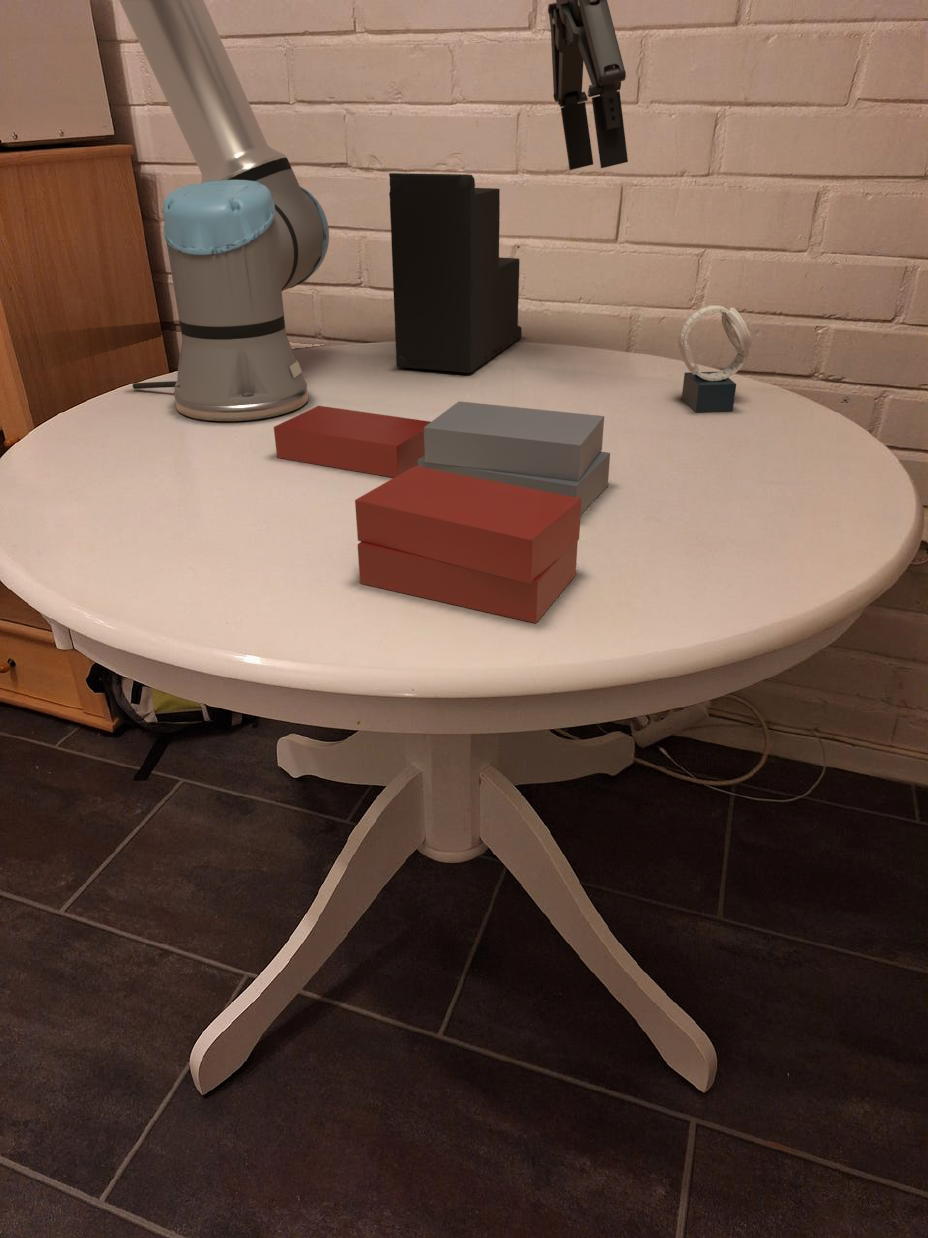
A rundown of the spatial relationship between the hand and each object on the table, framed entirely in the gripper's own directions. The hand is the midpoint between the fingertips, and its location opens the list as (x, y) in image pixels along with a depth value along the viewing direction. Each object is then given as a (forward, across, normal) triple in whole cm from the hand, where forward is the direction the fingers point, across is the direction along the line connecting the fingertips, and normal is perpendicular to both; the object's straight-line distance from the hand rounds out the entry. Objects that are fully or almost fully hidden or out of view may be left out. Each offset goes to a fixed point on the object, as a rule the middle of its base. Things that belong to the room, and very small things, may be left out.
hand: (597, 166), depth 100 cm
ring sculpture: (+27, -8, -7) cm, 29 cm away
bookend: (+20, +22, +17) cm, 34 cm away
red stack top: (+20, -48, +26) cm, 58 cm away
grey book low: (+23, -30, +20) cm, 43 cm away
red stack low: (+23, -47, +26) cm, 59 cm away
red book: (+20, -19, +33) cm, 43 cm away
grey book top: (+20, -30, +19) cm, 41 cm away
